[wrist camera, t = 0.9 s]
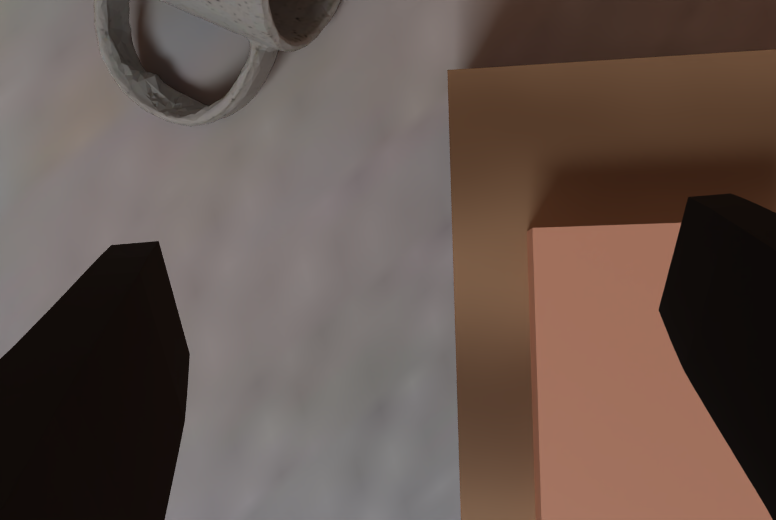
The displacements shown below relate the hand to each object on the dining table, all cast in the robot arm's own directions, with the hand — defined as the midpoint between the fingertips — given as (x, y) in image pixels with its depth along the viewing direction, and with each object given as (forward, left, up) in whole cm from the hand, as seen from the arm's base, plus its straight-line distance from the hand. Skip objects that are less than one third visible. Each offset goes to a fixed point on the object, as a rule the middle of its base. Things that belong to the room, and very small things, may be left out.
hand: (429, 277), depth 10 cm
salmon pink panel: (-3, -5, -10) cm, 11 cm away
